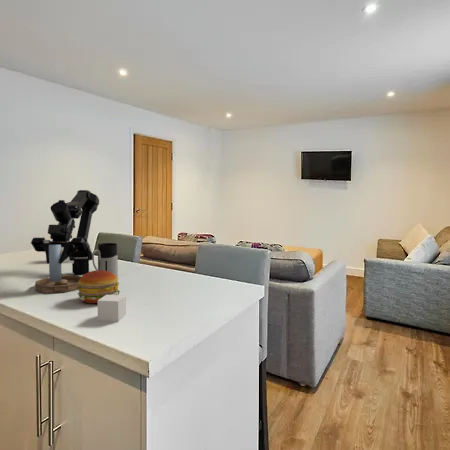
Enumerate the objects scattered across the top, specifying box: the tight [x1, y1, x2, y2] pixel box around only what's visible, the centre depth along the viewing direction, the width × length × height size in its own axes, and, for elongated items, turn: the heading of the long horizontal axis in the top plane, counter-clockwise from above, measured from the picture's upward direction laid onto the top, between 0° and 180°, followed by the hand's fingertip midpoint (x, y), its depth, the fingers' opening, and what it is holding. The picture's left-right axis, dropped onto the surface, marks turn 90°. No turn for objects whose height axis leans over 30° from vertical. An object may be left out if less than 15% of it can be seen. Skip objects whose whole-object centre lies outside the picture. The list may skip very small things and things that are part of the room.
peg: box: [48, 244, 63, 282], centre depth 127 cm, size 4×4×13 cm
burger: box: [77, 269, 121, 304], centre depth 117 cm, size 14×14×10 cm
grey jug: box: [91, 242, 120, 280], centre depth 142 cm, size 9×14×15 cm, turn 164°
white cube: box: [97, 294, 127, 323], centre depth 100 cm, size 6×6×6 cm
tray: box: [34, 274, 82, 294], centre depth 133 cm, size 17×17×2 cm
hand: (53, 263), depth 126 cm, fingers closed on peg, 4 cm apart
